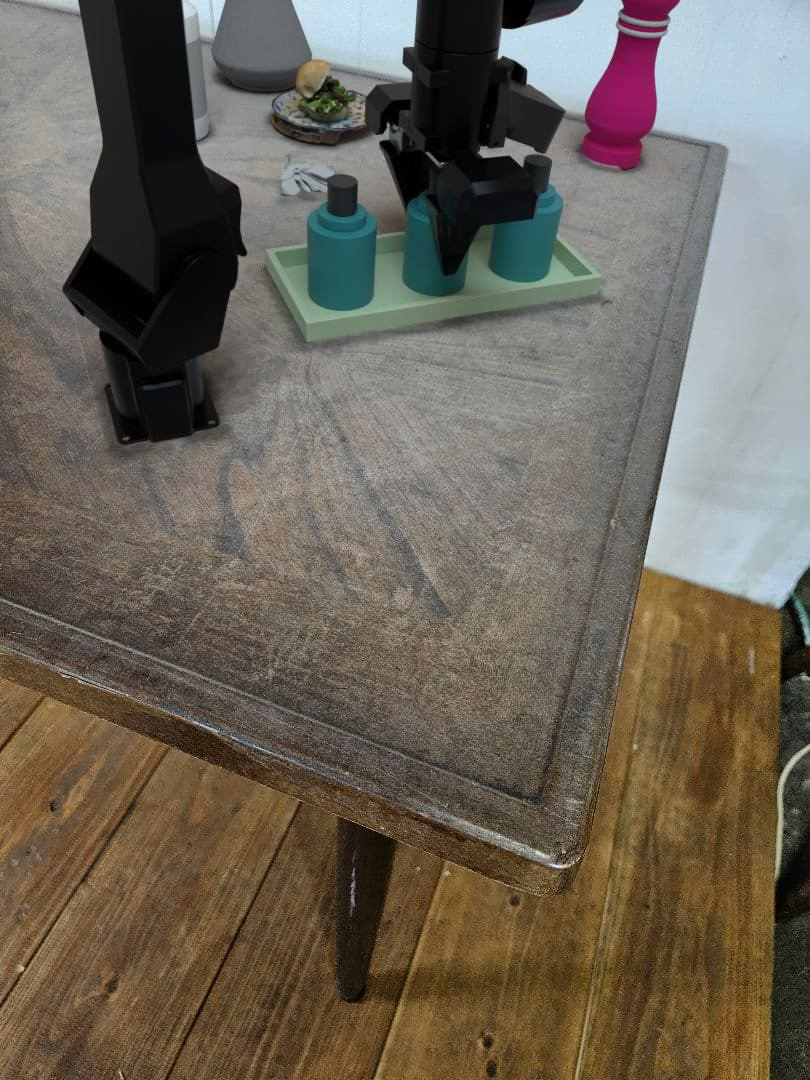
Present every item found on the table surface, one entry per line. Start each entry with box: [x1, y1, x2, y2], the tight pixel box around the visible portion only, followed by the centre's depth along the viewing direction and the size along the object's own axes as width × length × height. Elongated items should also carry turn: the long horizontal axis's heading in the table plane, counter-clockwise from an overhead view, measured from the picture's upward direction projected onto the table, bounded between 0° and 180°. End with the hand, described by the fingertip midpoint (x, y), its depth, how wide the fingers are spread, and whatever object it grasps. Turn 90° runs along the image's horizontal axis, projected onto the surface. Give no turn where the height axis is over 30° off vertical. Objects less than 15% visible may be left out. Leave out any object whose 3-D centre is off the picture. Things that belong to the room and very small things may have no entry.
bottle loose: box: [402, 165, 470, 296], centre depth 65 cm, size 5×5×9 cm
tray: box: [264, 224, 603, 343], centre depth 68 cm, size 11×25×2 cm, turn 112°
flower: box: [278, 150, 336, 196], centre depth 78 cm, size 8×8×3 cm
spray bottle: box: [182, 0, 210, 142], centre depth 79 cm, size 7×7×18 cm
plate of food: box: [271, 46, 368, 145], centre depth 87 cm, size 12×12×8 cm
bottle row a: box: [489, 153, 564, 282], centre depth 67 cm, size 5×5×9 cm
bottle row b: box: [306, 173, 378, 311], centre depth 62 cm, size 5×5×9 cm
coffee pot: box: [210, 0, 313, 93], centre depth 91 cm, size 21×12×15 cm, turn 96°
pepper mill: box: [580, 0, 681, 170], centre depth 81 cm, size 7×7×20 cm
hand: (434, 257), depth 66 cm, fingers closed on bottle loose, 5 cm apart
